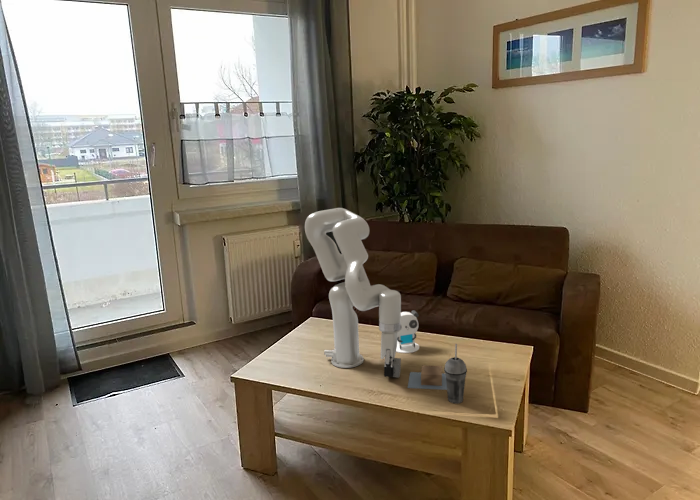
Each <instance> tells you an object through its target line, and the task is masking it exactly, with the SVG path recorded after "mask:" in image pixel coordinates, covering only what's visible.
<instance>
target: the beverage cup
mask: <svg viewBox="0 0 700 500" xmlns="http://www.w3.org/2000/svg"><path fill="white" fill-rule="evenodd" d="M454 347H455V348H454V357H450V358H449V359H447V361H445V364H444V369H443V370H444V373H445V376H446V384H447V390H446V392H447V394H446V395H447V401H448V402H450V403H451V404H457V405H458V404H461V403H463V401H464V395H465V385H466V377H467V373H468V370H467V365H466V363H465V362H464V360H463V359H462V358H460V357H458V344H457V343H455V346H454Z"/></svg>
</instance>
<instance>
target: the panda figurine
mask: <svg viewBox="0 0 700 500" xmlns="http://www.w3.org/2000/svg"><path fill="white" fill-rule="evenodd" d="M419 316H420V314H419V313H418V312H417V311H416V310H415V309H414V310H411V312H410V311H401V330H400V331H399V332H397V349H396V353H399V354H411V353H412V354H413V353H416V352H417V351H419V350H420V345H419V344H418V343H416V341H415V340H416V339H417V334H416V333H417V331H418V329H419V321H418V318H419Z"/></svg>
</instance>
